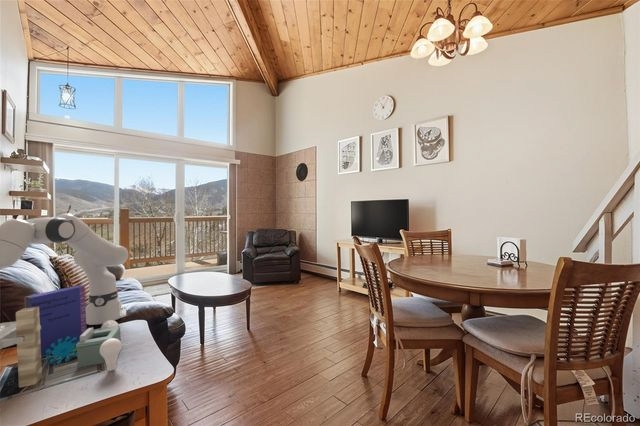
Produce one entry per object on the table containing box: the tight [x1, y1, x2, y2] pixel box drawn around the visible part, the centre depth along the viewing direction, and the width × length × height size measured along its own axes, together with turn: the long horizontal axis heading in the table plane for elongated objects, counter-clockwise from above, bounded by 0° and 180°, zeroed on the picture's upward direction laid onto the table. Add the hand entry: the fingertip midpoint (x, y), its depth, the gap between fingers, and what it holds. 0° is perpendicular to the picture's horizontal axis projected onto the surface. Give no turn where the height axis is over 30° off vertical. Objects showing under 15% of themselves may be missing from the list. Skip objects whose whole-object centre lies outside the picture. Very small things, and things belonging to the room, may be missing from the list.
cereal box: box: [23, 284, 88, 358], centre depth 115 cm, size 17×5×24 cm, turn 154°
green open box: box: [76, 330, 122, 369], centre depth 107 cm, size 12×10×7 cm
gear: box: [45, 336, 80, 365], centre depth 107 cm, size 11×6×10 cm
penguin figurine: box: [99, 320, 119, 330], centre depth 119 cm, size 6×8×12 cm
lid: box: [76, 326, 121, 348], centre depth 107 cm, size 12×10×3 cm
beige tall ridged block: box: [15, 307, 43, 388], centre depth 91 cm, size 4×4×24 cm
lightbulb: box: [100, 338, 123, 372], centre depth 96 cm, size 6×6×11 cm
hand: (32, 333), depth 92 cm, fingers open, 8 cm apart
